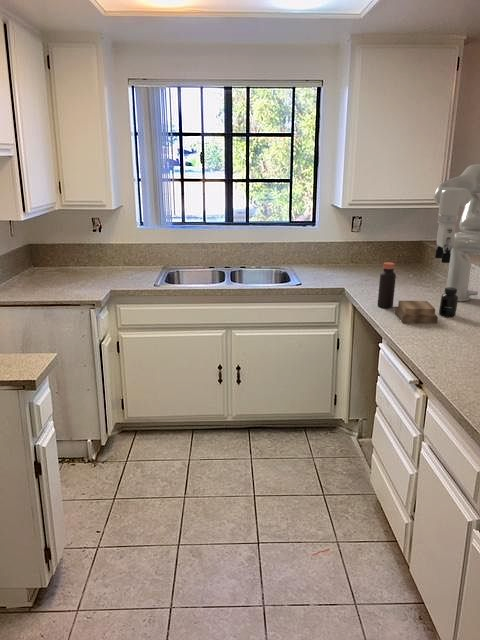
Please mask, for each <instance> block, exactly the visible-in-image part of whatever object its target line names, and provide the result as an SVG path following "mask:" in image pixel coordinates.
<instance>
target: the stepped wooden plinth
mask: <svg viewBox="0 0 480 640" xmlns="http://www.w3.org/2000/svg"><path fill="white" fill-rule="evenodd" d="M397 303H398V304H397V305H398V306H394V314H395V315H397V316H396V317H397V318H398V319H399V321H400V320H401V321H400V322H401V324H418V323H437V324H438V315H436V308H435V307H434V306H433V305H432V304H431V303H430V302H428V300H398V302H397Z"/></svg>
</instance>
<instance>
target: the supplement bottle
mask: <svg viewBox="0 0 480 640" xmlns="http://www.w3.org/2000/svg"><path fill="white" fill-rule="evenodd" d="M456 294H457V289H456V288H452V287H446V286H445V288H444V294H443V293H441V296H440V304H439V310H438V315H439V316H441V317H443V316H444V317H443V318H455V317H456V315H457V309H458V302H459V301H458V296H457V295H456ZM454 316H455V317H454Z"/></svg>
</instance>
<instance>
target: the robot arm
mask: <svg viewBox="0 0 480 640" xmlns="http://www.w3.org/2000/svg"><path fill="white" fill-rule="evenodd" d="M479 194H480V163H479V164H478V163H476V164H471V165H469V166H467V167H466V168H465V170H464V171H463V172H462V173H461V174H460V175H458V176H456V177H453V178H449V179H447V180H445V181H442V182H440V184H439V186H438V187H437V188H436V189H435V191H434V195H433V200H434V203H435V204H436V205H439V208H438V215H437V223H438V227H437V234H436V246H435V248H436V249H435V254H434V255H435V256H434V258H435V259H441V260H440V261H441V263H442V264H443V263H444V264H448V272H447V279H446V286H445V288H446V287H452V288H456V289H457V294H456V295H457V296H458V302H467V301H469V300H471V296H478V291H477V290H475V291H474V290H470V289H469V282H470V275H471V270H472V269H471V268H472V260H471V258H470V257H469V255H479V256H480V195H479ZM460 207H464V208H463V211H462V214H461V217H460V220H459V224H458V225H459V229H460V231H459V232H456V225H457V223H458V215H459V209H460ZM444 293H445V292H444ZM444 293H442V294H444Z"/></svg>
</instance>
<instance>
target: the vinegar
mask: <svg viewBox="0 0 480 640" xmlns="http://www.w3.org/2000/svg"><path fill="white" fill-rule="evenodd" d="M395 265H396V264H395V263H394V262H389V261H387V262H383V264H382V271H381V273H380V275H379V281H378V282H379V285H378V293H377V294H378V295H377V307H379V308H381V309H392V308H394V296H395V288H396V279H397V278H396V277H397V275H396V273H395V272H394V270H395Z"/></svg>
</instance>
